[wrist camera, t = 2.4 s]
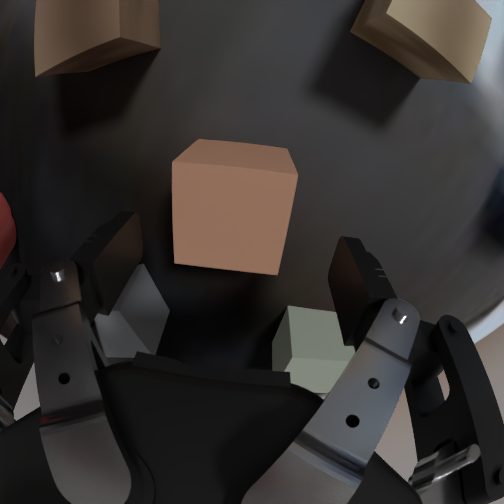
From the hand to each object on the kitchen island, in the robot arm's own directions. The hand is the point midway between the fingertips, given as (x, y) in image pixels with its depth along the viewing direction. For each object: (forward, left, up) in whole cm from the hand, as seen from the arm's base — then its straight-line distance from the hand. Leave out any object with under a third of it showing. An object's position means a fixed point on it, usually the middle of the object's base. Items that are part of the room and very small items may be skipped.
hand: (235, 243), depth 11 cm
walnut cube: (-8, +10, -6) cm, 15 cm away
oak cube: (+8, +12, -6) cm, 16 cm away
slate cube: (-8, -10, -6) cm, 14 cm away
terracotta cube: (0, 0, -6) cm, 6 cm away
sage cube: (+7, -12, -6) cm, 15 cm away
